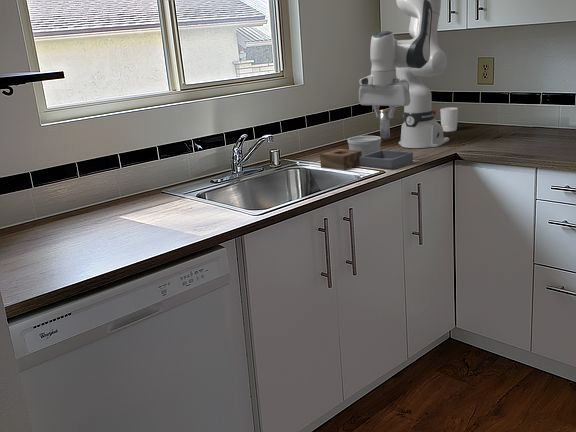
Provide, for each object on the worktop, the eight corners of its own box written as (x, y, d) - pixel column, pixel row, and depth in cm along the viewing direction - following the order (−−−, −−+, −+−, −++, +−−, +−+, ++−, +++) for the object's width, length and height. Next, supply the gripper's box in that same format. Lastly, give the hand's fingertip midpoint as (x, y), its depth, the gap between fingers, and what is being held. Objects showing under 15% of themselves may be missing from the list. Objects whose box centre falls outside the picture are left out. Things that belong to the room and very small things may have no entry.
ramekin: (370, 150, 261) (369, 134, 259) (388, 155, 249) (387, 137, 247) (342, 155, 255) (341, 138, 253) (359, 160, 244) (358, 142, 242)
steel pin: (383, 136, 233) (383, 109, 230) (391, 137, 231) (390, 109, 228) (378, 138, 231) (377, 110, 228) (386, 138, 229) (385, 110, 226)
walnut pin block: (339, 161, 245) (338, 148, 243) (362, 163, 237) (361, 150, 236) (320, 167, 237) (319, 154, 236) (343, 170, 230) (343, 156, 228)
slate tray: (381, 158, 243) (381, 149, 242) (412, 161, 234) (412, 152, 233) (359, 166, 234) (359, 156, 233) (391, 169, 224) (391, 160, 223)
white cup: (438, 132, 290) (438, 110, 287) (442, 129, 297) (441, 107, 294) (456, 131, 287) (456, 109, 284) (459, 128, 294) (459, 107, 291)
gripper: (413, 78, 220) (414, 117, 224) (365, 78, 234) (367, 115, 238) (403, 79, 216) (404, 120, 220) (355, 80, 230) (357, 118, 233)
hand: (384, 118), depth 229 cm, fingers closed on steel pin, 3 cm apart
